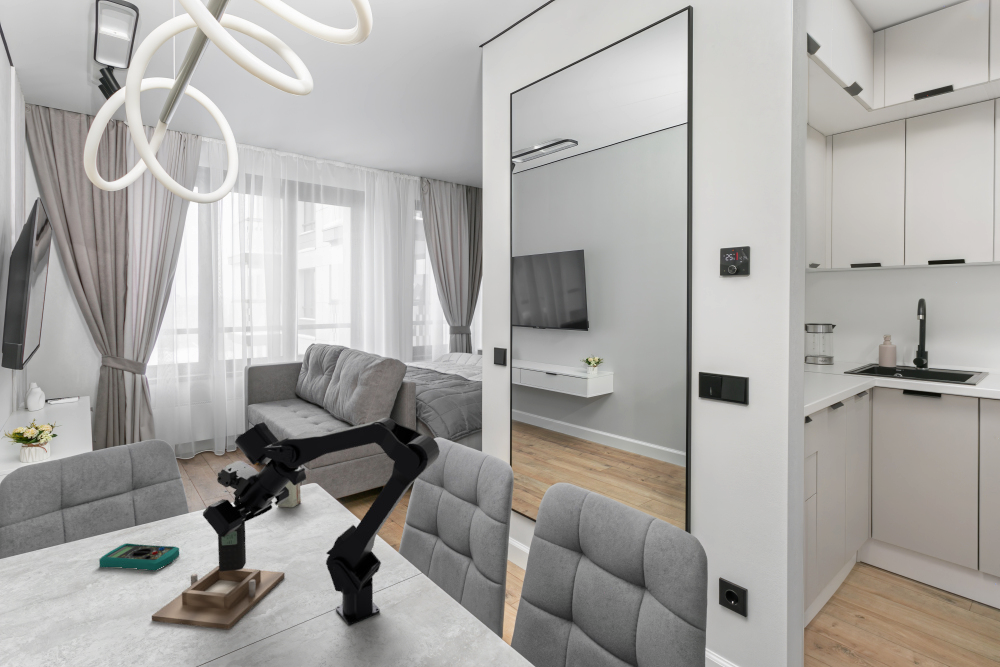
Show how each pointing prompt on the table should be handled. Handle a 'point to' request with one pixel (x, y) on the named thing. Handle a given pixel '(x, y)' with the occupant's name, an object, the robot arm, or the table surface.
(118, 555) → the digital multimeter
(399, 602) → the table surface
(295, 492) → the skincare box
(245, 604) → the wooden frame board
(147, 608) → the table surface
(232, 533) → the walkie-talkie
